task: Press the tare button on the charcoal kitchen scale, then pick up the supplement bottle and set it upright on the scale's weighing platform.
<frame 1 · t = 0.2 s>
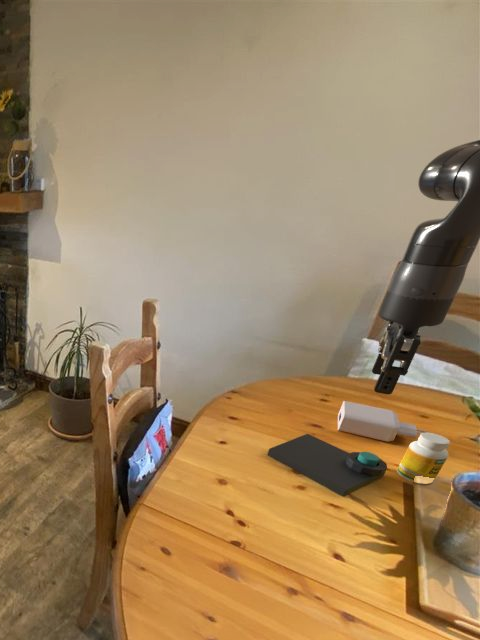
hand: (380, 382, 72), 24 cm above the table, tool pointing down, fingers open, 8 cm apart
supplement bottle: (413, 477, 84), on the table
charger: (377, 433, 98), on the table
tare button: (368, 458, 84), point 4 cm above the table, slide at 0.1 cm
scale: (322, 466, 89), on the table
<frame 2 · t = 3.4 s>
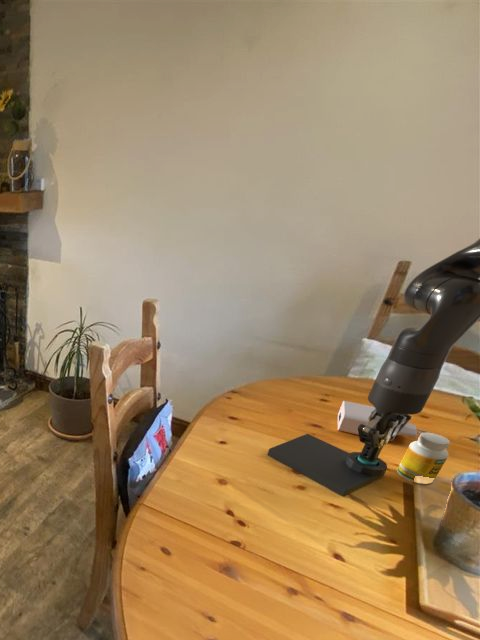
hand: (367, 458, 84), 4 cm above the table, tool pointing down, fingers closed
tare button: (366, 462, 85), point 3 cm above the table, slide at -0.7 cm, touching gripper
everything else where it was.
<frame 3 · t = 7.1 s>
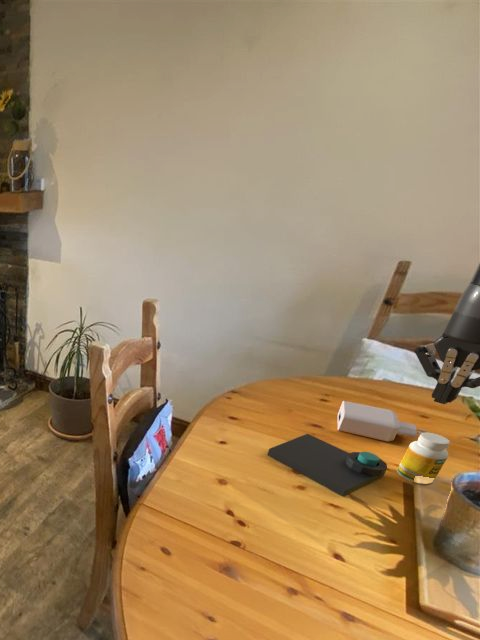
hand: (441, 401, 77), 17 cm above the table, tool pointing down, fingers closed
tare button: (368, 458, 84), point 4 cm above the table, slide at 0.1 cm
everything else where it was.
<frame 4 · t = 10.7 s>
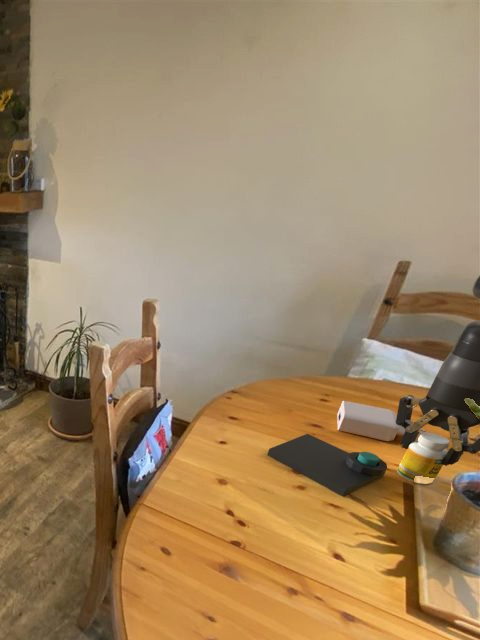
hand: (425, 455, 82), 5 cm above the table, tool pointing down, fingers closed on supplement bottle, 5 cm apart
supplement bottle: (413, 477, 84), on the table, touching gripper
everything else where it was.
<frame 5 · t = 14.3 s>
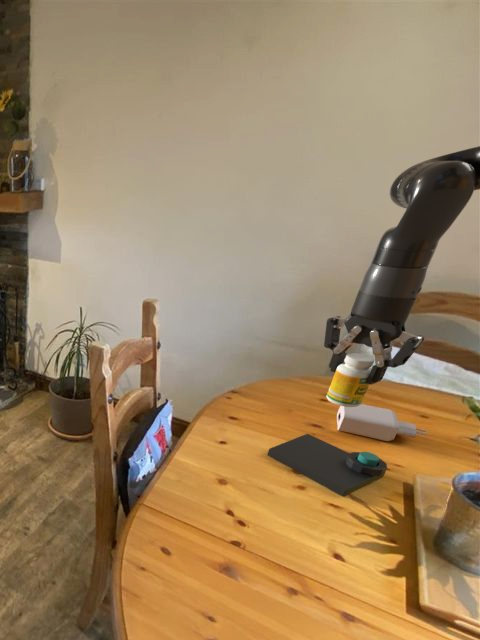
hand: (352, 376, 80), 21 cm above the table, tool pointing down, fingers closed on supplement bottle, 5 cm apart
supplement bottle: (342, 402, 82), point 15 cm above the table, touching gripper
everything else where it was.
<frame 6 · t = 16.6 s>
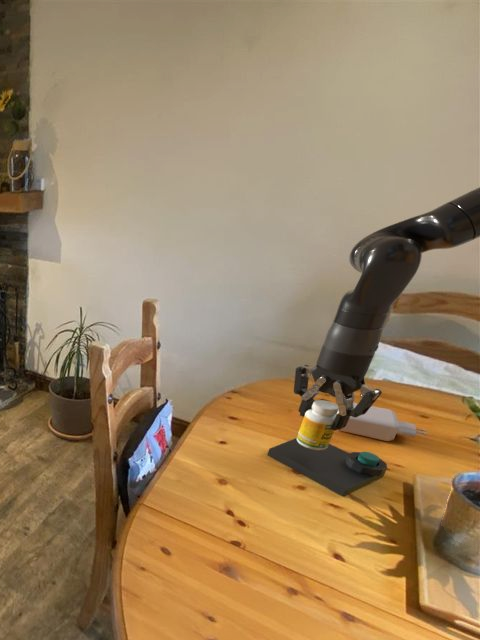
hand: (319, 421, 86), 10 cm above the table, tool pointing down, fingers closed on supplement bottle, 5 cm apart
supplement bottle: (311, 444, 88), point 5 cm above the table, touching gripper
everything else where it was.
when the fingers open (7 cm above the table, at t = 18.1 s): supplement bottle stays where it is, resting on scale.
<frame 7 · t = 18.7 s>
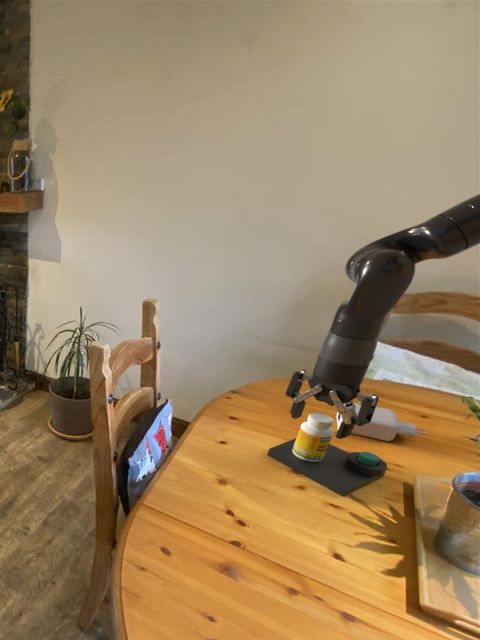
hand: (317, 427, 86), 9 cm above the table, tool pointing down, fingers open, 8 cm apart
supplement bottle: (306, 455, 89), point 2 cm above the table, touching scale
everything else where it was.
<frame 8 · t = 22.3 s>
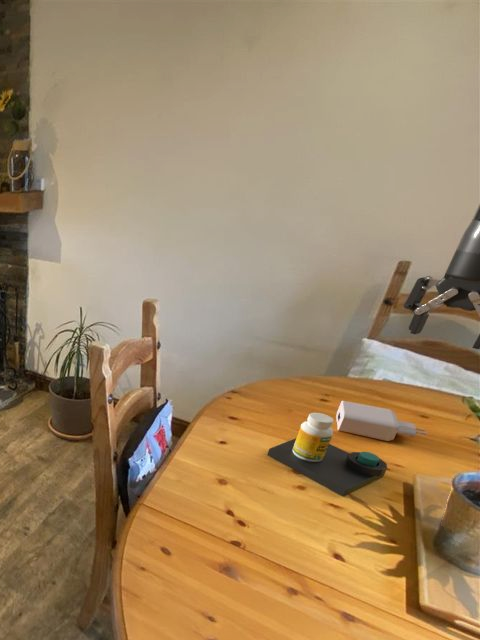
hand: (445, 340, 76), 28 cm above the table, tool pointing down, fingers open, 8 cm apart
nothing on the table moved.
at the end: tare button pushed in 0.9 cm at the most during the clip, back to where it started at the end; tare button slide at 0.1 cm; supplement bottle inside the target area on the scale (0.2 cm from its centre), point 1.7 cm above the scale's base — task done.
